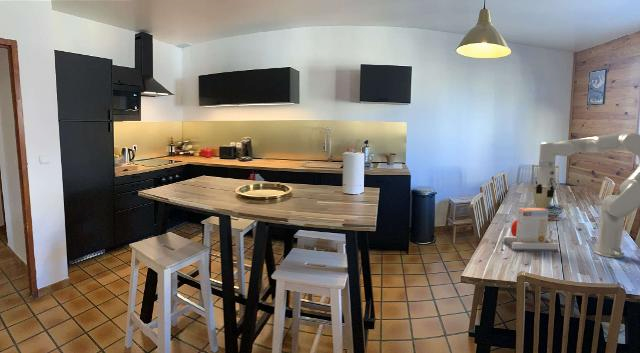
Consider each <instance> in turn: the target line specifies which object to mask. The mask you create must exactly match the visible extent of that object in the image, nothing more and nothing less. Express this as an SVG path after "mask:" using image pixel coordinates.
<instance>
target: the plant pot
mask: <svg viewBox="0 0 640 353" xmlns="http://www.w3.org/2000/svg"><path fill="white" fill-rule="evenodd" d="M536 187H537V186H536V185H535V186H533V187H532V189H533V190H532V193H533V200H534V203H535V204H534V205H535V206H536V207H535V208H544V209H548V207H549V205H550V203H551V201H552V199H553V197H547V190H548V187H547V186H542V194H536ZM555 191H556V189H555V190H554V192H555Z"/></svg>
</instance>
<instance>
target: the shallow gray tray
mask: <svg viewBox="0 0 640 353" xmlns="http://www.w3.org/2000/svg"><path fill="white" fill-rule="evenodd" d="M503 243H504V244H503ZM502 244H503V245H504V246H506V247H507V246H508V247H507V248H509V249H510V248H511V249H510V250H511V251H513V250H524V251H525V252H527V251H528V252H529V251H530V252H532V251H533V252H534V251H535V252H559V243H558V242H551V241H549V240H548V237H547V236H546V243H520V242H516V237H513V235H512V236H509V235H508V236H503V237H502ZM524 251H523V252H524Z"/></svg>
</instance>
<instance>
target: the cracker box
mask: <svg viewBox="0 0 640 353" xmlns="http://www.w3.org/2000/svg"><path fill="white" fill-rule="evenodd" d="M549 212H550V211H549V209H548V208H545V209H544V208H538V207H518V208H517V218H516V220H517V230H516V242H520V243H546V237H547V234H548V233H547V232H548V224H549V223H548V222H549Z"/></svg>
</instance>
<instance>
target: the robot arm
mask: <svg viewBox="0 0 640 353" xmlns="http://www.w3.org/2000/svg"><path fill="white" fill-rule="evenodd" d="M622 150H623V151H624V150H626V151H629V152H630V153H631V154H633V155H636V156H637V158H638V160H639V163H638V166H637V168H636V169H635V170H634V171H633V172H632V173H631V174H630V175H629V176H628V177H627V178H626V179H625V180H624V181H622V183H621V184H620V185H619V192H620V194H609V195H606V196H605V197H604V198H603V199H602V201H601V204H600V206H601V208H600V223H599V227H598V228H599V229H598V237H597V242H596V244H597V245H596V247H593V248H592V252H593V253H595V254H597V255H599V256H602V257H605V258H611V259H612V258H613V259H621V258H624V256H625V253H624V252H622V248H621V245H622V238H623V231H624V225H625V218H626V217H629V216H630V215H631V214H633V213H634V212H635V211H636V210H637V209H638V208H639V207H640V134H639V133H636V132H620V133H612V134H604V135H597V136H591V137H584V138H575V139H567V140H561V141H559V142H555V141H543V142H541V143H540V145H539V157H538V158H539V159H538V170H537V173H536V177H535V178H534V181H535V186H537V187H536V194H542V187H543V186H544V187H548V190H547V197H552V198H553V197H554V196H555V195H554V194H555V191H556V187H557V184H558V183H557V171H556V159H557V156H560V157H561V156H562V157H570V156H571V155H573V154H578V153H590V154H591V153H592V154H593V153H594V154H595V153H598V154H599V153H600V154H601V153H606V152H613V151H622ZM554 190H555V191H554Z"/></svg>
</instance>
